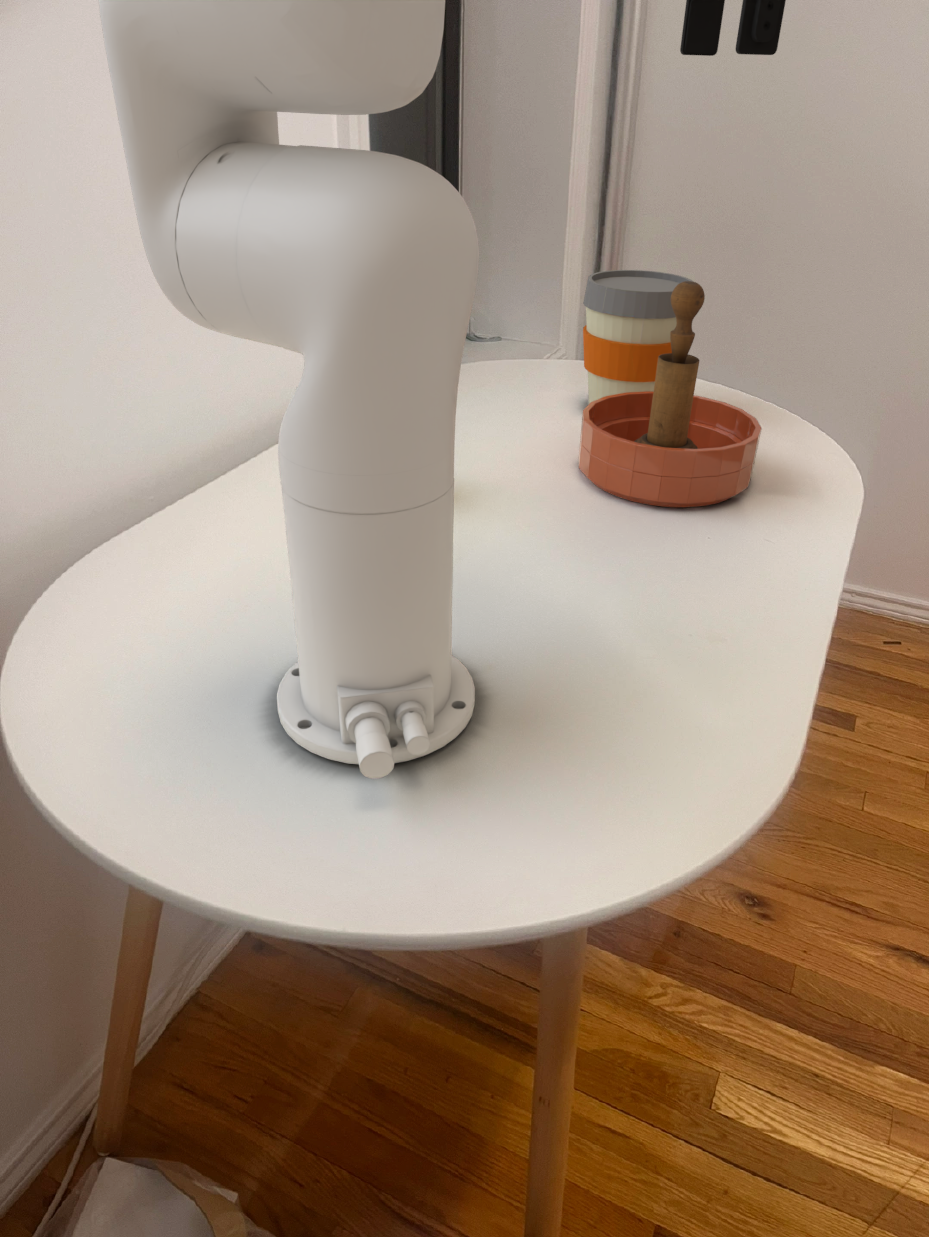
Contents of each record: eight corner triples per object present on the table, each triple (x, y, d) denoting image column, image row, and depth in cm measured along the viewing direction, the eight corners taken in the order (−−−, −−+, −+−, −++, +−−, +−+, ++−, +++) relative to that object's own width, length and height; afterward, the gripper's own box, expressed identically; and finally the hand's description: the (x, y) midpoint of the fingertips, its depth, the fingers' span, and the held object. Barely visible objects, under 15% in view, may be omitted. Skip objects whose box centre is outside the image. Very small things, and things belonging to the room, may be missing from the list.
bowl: (781, 503, 85) (795, 444, 82) (613, 517, 81) (621, 456, 78) (701, 440, 99) (710, 387, 96) (556, 450, 96) (560, 395, 92)
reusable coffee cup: (679, 399, 111) (699, 274, 103) (675, 432, 101) (696, 296, 93) (581, 389, 114) (592, 266, 106) (566, 420, 104) (578, 287, 96)
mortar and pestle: (691, 457, 92) (721, 277, 83) (699, 482, 87) (732, 291, 77) (627, 454, 93) (650, 274, 83) (631, 478, 87) (656, 288, 78)
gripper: (667, -208, 68) (639, 54, 77) (785, -279, 54) (733, 53, 63) (755, -200, 70) (718, 56, 79) (892, -266, 56) (827, 55, 65)
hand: (725, 54), depth 71 cm, fingers open, 9 cm apart
